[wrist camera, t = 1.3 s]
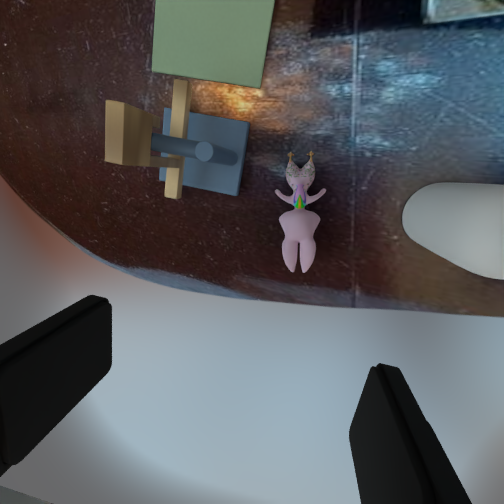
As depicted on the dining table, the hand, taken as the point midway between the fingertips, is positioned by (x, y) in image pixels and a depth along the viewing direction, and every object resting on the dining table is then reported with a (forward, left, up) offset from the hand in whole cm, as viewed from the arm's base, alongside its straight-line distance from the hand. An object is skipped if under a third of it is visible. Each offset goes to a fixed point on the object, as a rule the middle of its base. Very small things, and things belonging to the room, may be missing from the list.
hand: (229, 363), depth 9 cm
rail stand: (-7, -12, -28) cm, 32 cm away
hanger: (-7, -14, -25) cm, 30 cm away
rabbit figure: (-2, +2, -29) cm, 29 cm away
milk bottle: (-5, +18, -29) cm, 34 cm away
